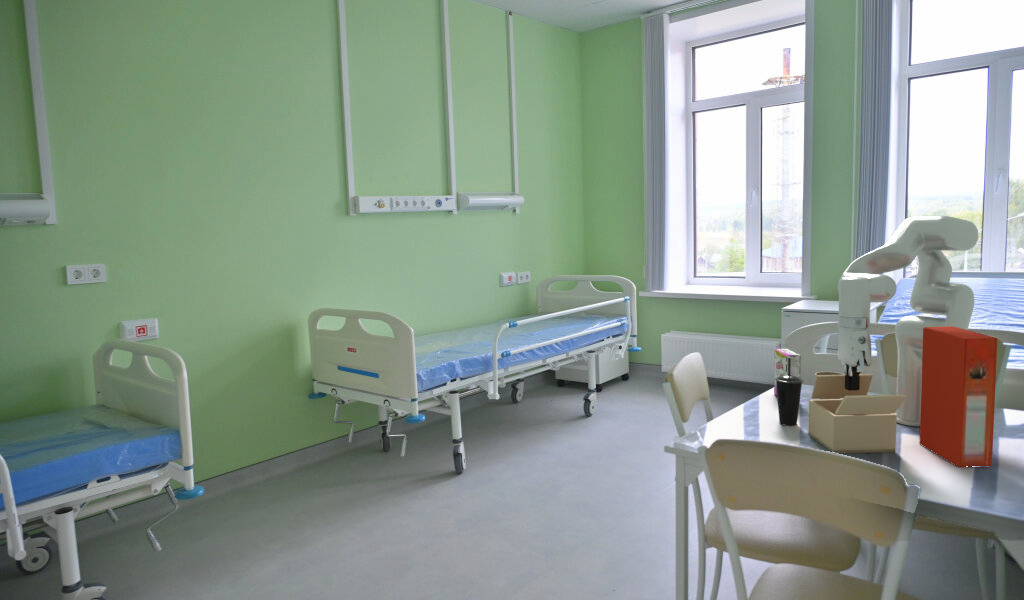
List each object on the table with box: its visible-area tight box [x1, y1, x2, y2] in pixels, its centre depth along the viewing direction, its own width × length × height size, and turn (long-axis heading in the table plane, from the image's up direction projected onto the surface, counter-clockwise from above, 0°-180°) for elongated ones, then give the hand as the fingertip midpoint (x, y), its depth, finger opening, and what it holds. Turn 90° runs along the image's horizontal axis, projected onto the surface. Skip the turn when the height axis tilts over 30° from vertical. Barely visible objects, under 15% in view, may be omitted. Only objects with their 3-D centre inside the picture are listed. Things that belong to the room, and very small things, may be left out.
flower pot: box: [814, 371, 845, 400], centre depth 225 cm, size 9×9×9 cm
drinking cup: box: [775, 358, 804, 427], centre depth 200 cm, size 8×8×20 cm
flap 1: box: [811, 373, 874, 400], centre depth 187 cm, size 15×8×1 cm
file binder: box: [919, 326, 998, 468], centre depth 170 cm, size 8×17×32 cm, turn 177°
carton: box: [808, 398, 898, 454], centre depth 183 cm, size 16×16×10 cm
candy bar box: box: [773, 348, 802, 404], centre depth 227 cm, size 11×5×16 cm, turn 179°
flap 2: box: [835, 394, 907, 414], centre depth 171 cm, size 15×8×1 cm
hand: (852, 389), depth 181 cm, fingers closed
